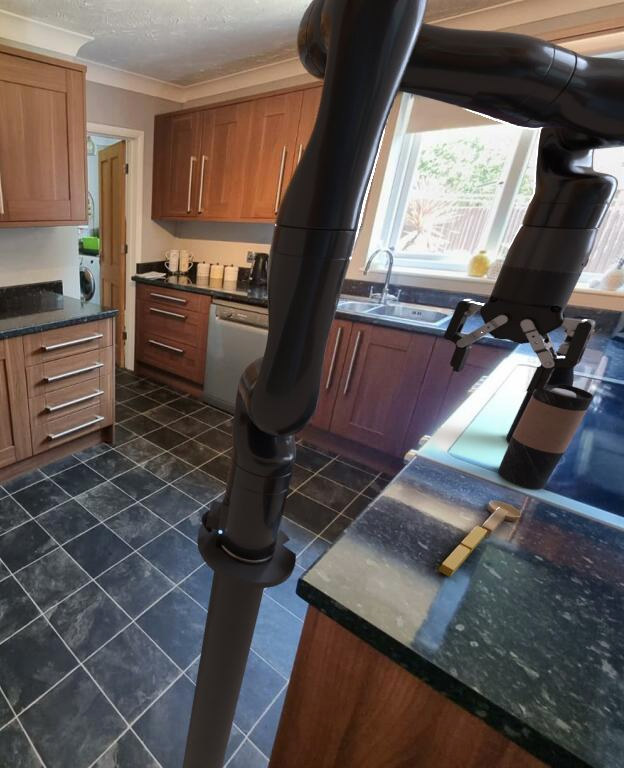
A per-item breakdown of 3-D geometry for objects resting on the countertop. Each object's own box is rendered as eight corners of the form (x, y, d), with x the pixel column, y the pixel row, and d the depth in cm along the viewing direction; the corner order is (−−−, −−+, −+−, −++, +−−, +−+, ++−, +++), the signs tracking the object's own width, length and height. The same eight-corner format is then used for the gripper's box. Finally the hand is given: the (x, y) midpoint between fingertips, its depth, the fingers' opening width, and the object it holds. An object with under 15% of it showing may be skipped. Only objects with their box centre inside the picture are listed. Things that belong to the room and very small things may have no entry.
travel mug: (537, 495, 81) (587, 402, 73) (489, 474, 87) (530, 386, 79) (551, 482, 85) (600, 393, 77) (504, 463, 91) (544, 378, 83)
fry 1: (450, 577, 63) (453, 570, 63) (438, 570, 64) (441, 563, 64) (467, 557, 67) (471, 550, 66) (456, 551, 68) (459, 544, 67)
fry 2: (468, 555, 67) (472, 548, 67) (457, 549, 68) (461, 542, 68) (484, 537, 71) (487, 530, 70) (473, 531, 72) (476, 525, 71)
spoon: (499, 543, 70) (503, 535, 69) (468, 527, 73) (471, 520, 72) (522, 515, 76) (525, 508, 75) (491, 501, 79) (495, 494, 79)
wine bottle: (533, 453, 95) (598, 324, 83) (499, 439, 100) (556, 315, 88) (547, 447, 97) (613, 320, 85) (514, 434, 103) (571, 313, 90)
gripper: (464, 259, 57) (425, 369, 64) (618, 275, 47) (552, 406, 53) (484, 256, 61) (445, 360, 68) (629, 270, 51) (567, 392, 57)
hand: (492, 380), depth 61 cm, fingers open, 8 cm apart
